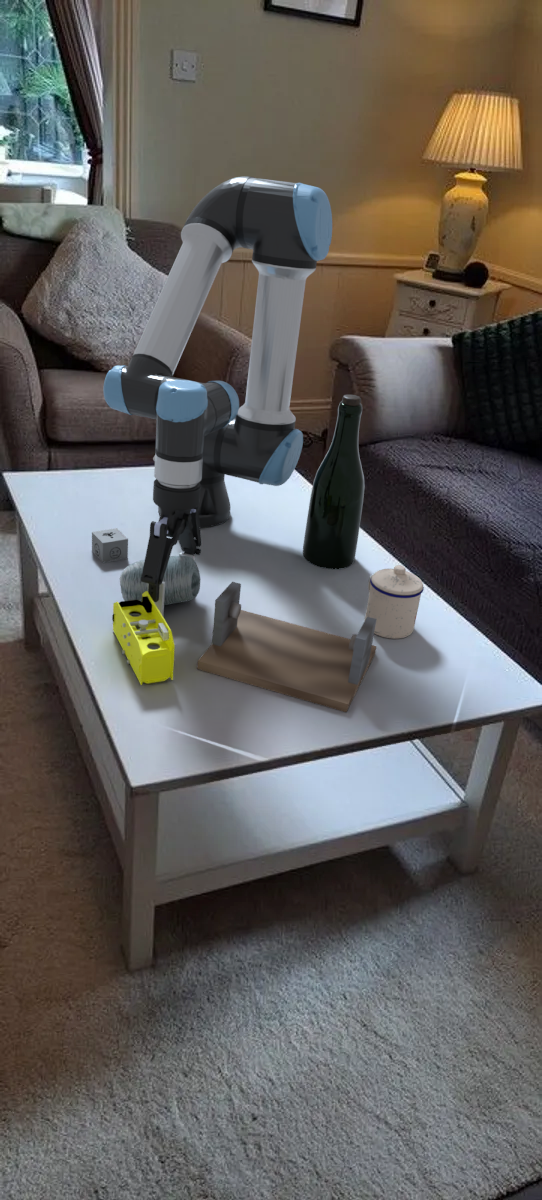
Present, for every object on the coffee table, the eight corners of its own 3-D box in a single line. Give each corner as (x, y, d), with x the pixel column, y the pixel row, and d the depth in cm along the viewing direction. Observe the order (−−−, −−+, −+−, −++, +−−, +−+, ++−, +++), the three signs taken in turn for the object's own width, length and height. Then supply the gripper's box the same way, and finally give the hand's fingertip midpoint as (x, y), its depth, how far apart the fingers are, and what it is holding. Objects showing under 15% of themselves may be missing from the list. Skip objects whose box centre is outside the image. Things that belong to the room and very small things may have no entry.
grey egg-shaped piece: (200, 578, 153) (181, 531, 148) (214, 603, 145) (195, 554, 140) (129, 608, 152) (107, 562, 146) (139, 635, 144) (116, 587, 138)
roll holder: (240, 617, 147) (244, 568, 143) (375, 653, 141) (384, 603, 137) (197, 668, 132) (200, 615, 128) (346, 712, 126) (356, 658, 122)
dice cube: (116, 551, 165) (116, 528, 162) (127, 563, 161) (128, 538, 159) (91, 556, 162) (91, 532, 160) (102, 567, 158) (102, 543, 156)
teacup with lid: (424, 635, 148) (437, 576, 143) (380, 644, 144) (392, 583, 139) (387, 602, 157) (398, 545, 152) (344, 609, 154) (354, 551, 148)
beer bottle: (362, 569, 168) (391, 404, 153) (313, 573, 165) (337, 405, 149) (341, 546, 177) (365, 387, 161) (293, 549, 173) (314, 387, 157)
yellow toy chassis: (175, 683, 129) (178, 636, 125) (138, 689, 126) (140, 641, 122) (145, 629, 141) (146, 585, 137) (111, 634, 139) (111, 589, 135)
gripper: (186, 456, 148) (179, 571, 158) (121, 497, 128) (117, 625, 138) (226, 465, 146) (217, 580, 156) (166, 508, 126) (159, 637, 136)
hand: (170, 601), depth 147 cm, fingers open, 11 cm apart
